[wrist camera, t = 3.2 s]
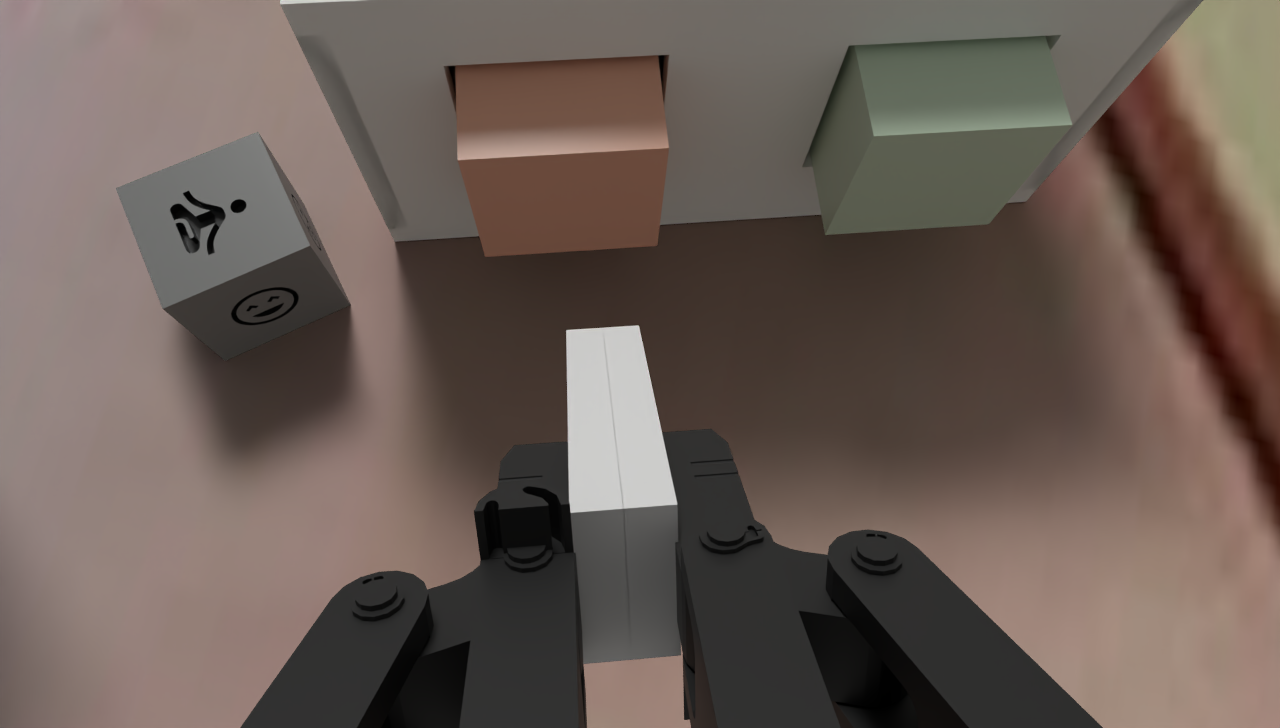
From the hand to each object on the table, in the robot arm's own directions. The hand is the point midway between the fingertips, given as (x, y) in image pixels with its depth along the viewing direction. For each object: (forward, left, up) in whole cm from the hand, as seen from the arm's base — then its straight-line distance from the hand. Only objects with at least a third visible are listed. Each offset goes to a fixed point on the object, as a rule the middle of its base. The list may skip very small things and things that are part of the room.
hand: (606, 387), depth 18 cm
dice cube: (-12, +10, -14) cm, 21 cm away
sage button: (+11, +12, -10) cm, 19 cm away
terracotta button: (-1, +12, -10) cm, 16 cm away
